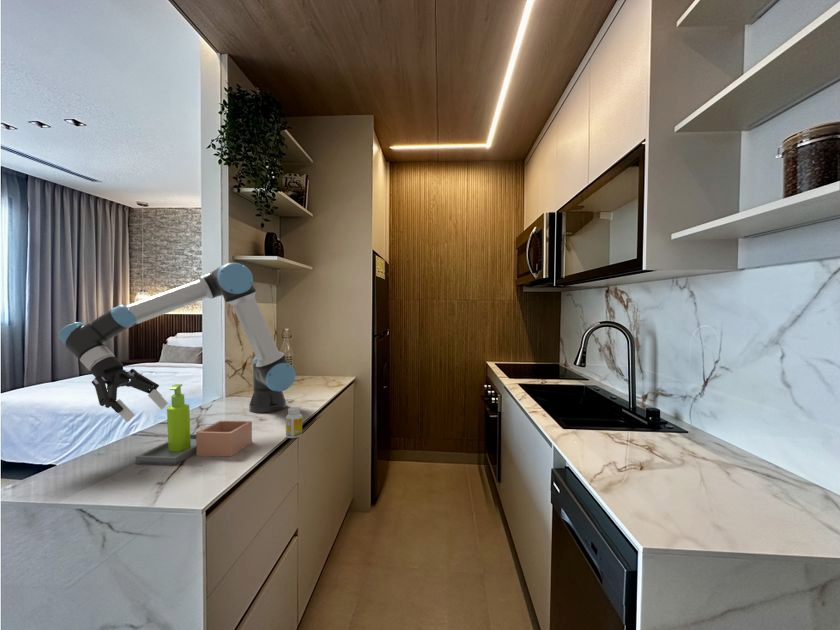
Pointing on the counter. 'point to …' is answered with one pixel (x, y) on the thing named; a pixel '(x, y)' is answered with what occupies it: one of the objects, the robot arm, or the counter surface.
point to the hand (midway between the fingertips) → (148, 412)
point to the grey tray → (167, 454)
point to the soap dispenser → (178, 422)
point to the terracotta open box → (224, 438)
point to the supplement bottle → (293, 423)
